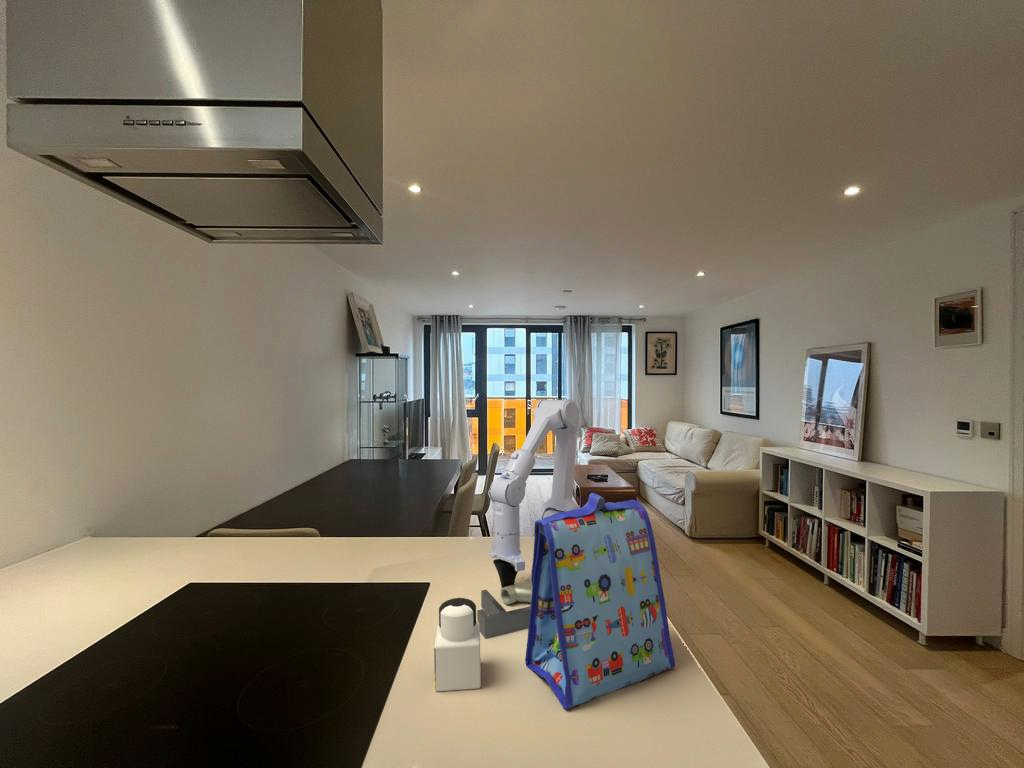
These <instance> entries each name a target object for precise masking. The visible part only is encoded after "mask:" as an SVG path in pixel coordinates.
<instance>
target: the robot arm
mask: <svg viewBox="0 0 1024 768" xmlns="http://www.w3.org/2000/svg"><path fill="white" fill-rule="evenodd" d="M580 410H581V409H580V407H578V405H577V403H576V402H575V400H573V399H570V398H569V399H568V398H567V399H546V398H545V399H544V398H542V399H540V400H539V401H538V402H537V404H536V406H535V408H534V410H533V411H532V412H533V413H532V414H533V417H534V418H533V422H532V424H531V426H530V428H529V430H528V433H527V434H526V438H525V440H524V442H523V444H522V446H521V448H520V449H516V450H514V452H512V453H511V455H510V459H509V460H508V462H507V464H506V466H505V468H504V469H503V470H502V473H501V474H500V476H499V477H497V478H495V479H494V480H493V481H492V482H491V484H490V487H489V490H488V491H487V494H488V497H489V499H490V501H491V505H492V506H491V507H492V509H493V519H494V521H493V522H494V523H493V524H494V525H493V526H494V527H493V528H494V533H493V535H494V541H493V542H491V551H490V552H489V556H490V557H491V558H492V559H493V560H492V562H493V565H494V567H495V569H496V571H497V573H498V577H499V582H500V586H501V588H504V587H507V586H510V585H513V584H516V583H515V581H516V578H517V575H518V572H522V571H526V561H525V560H524V558H523V553H522V551H521V548H520V547H521V545H520V544H521V543H520V542H521V537H520V535H521V534H520V533H521V532H520V531H521V530H520V527H521V526H520V504H521V503H522V501H524V499H525V496H526V488H527V480H528V478H529V477H530V475H531V473H532V470H533V468H534V467H535V465H536V458H535V455H536V453H537V451H538V449H540V446H541V445H542V443H543V442H544V440H545V438H546V437H547V436H548V434H549V433H550V432H552V433H553V434H554V436H555V448H554V460H553V472H552V473H553V475H552V484H551V497H550V498H548V499H547V500H546V501H545V502H544V503H543V508H542V509H543V510H541V511H542V512H541V514H540V517H539V520H541V519H543V518H545V517H548V516H551V515H553V514H556V513H561V512H566V511H571V510H575V509H579V508H581V507H580V506H579V505H578V504H577V502H575V500H574V499H573V494H574V479H575V467H576V452H577V450H576V449H577V439H578V432H579V423H580V422H579V421H580Z"/></svg>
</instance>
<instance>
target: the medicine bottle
mask: <svg viewBox="0 0 1024 768" xmlns="http://www.w3.org/2000/svg"><path fill="white" fill-rule="evenodd" d="M436 628H437V629H436V633H435V641H434V648H433V650H434V651H433V653H434V656H433V657H434V661H433V662H434V691H435V692H449V691H461V690H462V691H463V690H464V691H465V690H476V689H481V685H482V679H481V678H482V677H481V671H482V669H481V632H480V624H479V622H477V606H476V603H475V602H474V601H473V600H471V599H469V598H465V597H453V598H449V599H447V600H446V601H444V602H442V603H441V605H440V606H439V607H438V624H437V626H436Z"/></svg>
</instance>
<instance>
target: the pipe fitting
mask: <svg viewBox="0 0 1024 768" xmlns="http://www.w3.org/2000/svg"><path fill="white" fill-rule="evenodd" d="M532 587H533V586H532V581H531V577H530V578H527V579H524V580H523V581H519V582H516V583H514V584H513V585H510V586H507V587H504V588H502V587H501V589H500V598H501V600H502V602H503V603H504V604H505V605H511V604H514V603H515V602H520V603H529V604H531V598H532Z"/></svg>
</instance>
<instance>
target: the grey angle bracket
mask: <svg viewBox="0 0 1024 768" xmlns="http://www.w3.org/2000/svg"><path fill="white" fill-rule="evenodd" d="M480 599H481V600H480V601H481V609H478V610H477V609H476V622H479V624H480V635H481V636H482V637H483V638H484V639H485V640H486V639H490V638H493V637H498V636H501V635H505V634H506V635H507V634H509V633H513V632H517V631H521V630H526V629H528V627H529V618H530V608H531V605H529V606H525V607H521V608H520V607H519V608H517V609H512V610H508V611H506V609H505V608H504V607H503V606H502V605H501V604H500V603H499V602H498V600H496V599H495V597H494V596H493V595H492V594H491V593H490V592H489V591H488V590H487V589H483V590H481V592H480Z"/></svg>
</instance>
